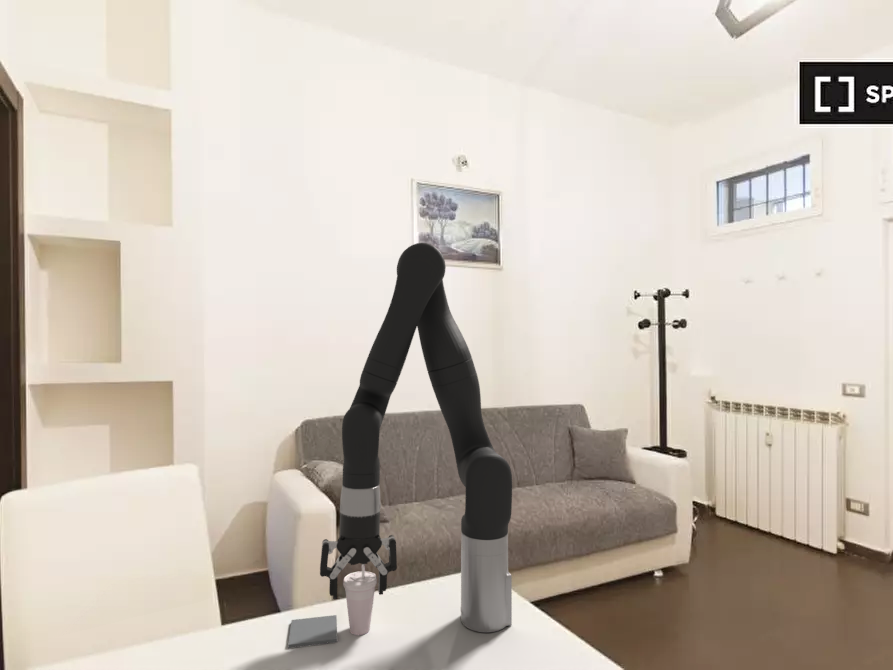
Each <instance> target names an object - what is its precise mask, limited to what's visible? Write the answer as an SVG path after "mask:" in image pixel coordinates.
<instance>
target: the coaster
mask: <svg viewBox="0 0 893 670" xmlns="http://www.w3.org/2000/svg"><path fill="white" fill-rule="evenodd" d="M337 622H338V619H337V614H333V615H324V616H315V617H308V618H307V617H306V618H297V619H291V621H290V630H289V637H288V644H287V645H288V646H287V647H288V649H291V648H290V647H294V648H301V647H300V646H302V647H309V645H310V646H317V645H326V644H332V643H334V644H335V643H338V626H337V625H338V623H337Z"/></svg>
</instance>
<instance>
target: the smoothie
mask: <svg viewBox="0 0 893 670" xmlns="http://www.w3.org/2000/svg"><path fill="white" fill-rule="evenodd" d="M365 566H366V564H361V570H360V571H359V570H358V571H355V572H350V573H348V574H347V575H346V576H344V578H343V584H342V586H343V588H344V589H345V591H344V592H345V599H346V606H347V607H346V608H347V609H346V610H347V616H348V617H347V618H348V625H349V632H350V633H351V634H352V635H354V636H363V635H366V634H368V633H369V632H370V629H371V622H372V616H373V615H372V614H373V607H374V600H375V599H374V598H375V590H376V585H377V584H378V576H377V575H376V573H374V572H371V571H366V569H365Z"/></svg>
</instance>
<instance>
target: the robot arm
mask: <svg viewBox="0 0 893 670" xmlns="http://www.w3.org/2000/svg"><path fill="white" fill-rule="evenodd" d="M445 275H446V261H445V258H444V255H443V254H442V252H441V251H440V249H439V248H437V246H435V245H434V244H431V243H428V242H418V243H414V244H412V245H409V246H408V247H407V248H406V249H404V251H403V252H402V253H401V254H400V256H399V259H398V261H397V265H396V276H397V277H396V280H395V281H396V282H395V285H394V290H393V295H392V297H391V300H390V303H389V306H388V309H387V312H386V314H385V316H384V320H383V321H382V324H381V326H380V328H379V330H378V333H377V335H376V336H375V339H374V342H373V343H372V345H371V348H370V350H369V353H368V356H367V358H366V360H365V363H364V366H363V367H362V371H361V374H360V378H359V385H358V387H357V391H356V393H355V395H354V397H353V400H352V403H351V404H350V407H349V409H348V410H346V412H345V414H344V415H343V418H342V424H341V440H342V454H343V464H342V481H341V482H342V483H341V484H342V486H341V491H340V503H339V537H338V538H337V541H335V540H334V541H332V540H330V541H329V539H327V538H326V539H323V540H322V543H321V555H320V564H319V576H321V577H323V578H324V577H326V578H328V579H329V590H328V591H329V596H331V597H332V599H333V600H336V599H338V582H339V581H338V579H339V578H338V576H339V574H340V573H341V571H343V570H344V569H345V567H346V566H347V564H349V565H350V566H354V565H359V564H361V565H362V564H365V565H368V563H370V562H371V563H372V564H373V566H374V567H375V568H376V569H377V570H378V579H377V584H378V585H377V586H378V588H377V590H378V591H377V592H378V594H379V595H378V596H380V595H383V594H384V592H386V591H387V588H388V584H387V583H388V574H389V573H390V572H395V571H396V570H397V569H398V566H397V565H398V563H397V562H398V561H397V540H396V539H395V538H396V537H395V535H393V534H391V535H389V536H388V537H384V538H383V537H382V538H381V536H380V533H381V531H380V527H381V519H380V518H381V507H382V502H381V487H380V483H381V478H380V477H381V475H380V474H381V462H380V458H379V451H380V450H379V448H380V447H379V446H380V445H379V444H380V432H381V426H382V424H383V420H384V417H385V415H386V412H387V408H388V405H389V402H390V399H391V396H392V394H393V392H394V390H395V388H396V386H397V384H398V382H399V378H400V376H401V373H402V370H403V368H404V366H405V363H406V360H407V357H408V354H409V351H410V348H411V344H412V341H413V339H414V336H415V333H416V330H417V332H418V337H419V342H420V347H421V351H422V355H423V359H424V363H425V367H426V371H427V373H428V377H429V381H430V384H431V386H432V389H433V392H434V395H435V398H436V400H437V401H436V402H437V403H438V406H439V409H440V411H441V414H442V415H443V416H442V417H443V418H444V421H445V423H446V426H447V428H448V431H449V435H450V439H451V443H452V448H453V453H454V456H455V457H454V458H455V463H456V468H457V469H456V470H457V473H458V477H459V479H460V482H461V483H462V485H463V487H464V488H465V505H464V514H463V515H462V517H461V522H460V540H461V541H460V546H461V548H460V549H461V550H460V560H461V561H460V621H461V623H462V624H463V626H464V627H465V628H468V629H469V630H471V631H474V632H478V633H493V632H498V631H501V630H503V629H505V628H506V627H507V626H512V623H513V622H512V621H513V619H512V616H513V615H512V613H513V612H512V609H513V608H512V607H513V606H512V605H513V603H512V602H513V601H512V600H513V598H512V596H513V595H512V593H513V592H512V589H513V587H512V586H513V585H512V584H513V580H512V579H513V577H512V574H511V572H509V571H510V570H509V524H510V521H511V517H512V511H513V510H512V507H513V474H512V469H511V466H510V464H509V462H508V461H507V460H506V459H505V458H504V457H503V456H501V455H500V454H499V453H497V452H496V450H495V449H494V447H493V444H492V442H491V439H490V437H489V435H488V432H487V429H486V426H485V423H484V420H483V419H484V418H483V414H482V403H481V402H482V399H481V397H482V396H481V387H480V382H479V378H478V373H477V370H476V366H475V364H474V360H473V357H472V354H471V352H470V348H469V346H468V344H467V342H466V340H465V337H464V336H463V334H462V331H461V330H460V328H459V326H458V324H457V323H456V321H455V319H454V317H453V314H452V312H451V310H450V307H449V303H448V299H447V295H446V290H445V286H444V278H445ZM382 546H384V548H385V550H386V551H388V562H387V563H384V561H383V559H382V558H381V557H380V555H379V554H378V552H379V551H380V549H381V547H382ZM335 549H336V550H337V552H339V555H338V557H337V558H336V561H335V562H334V563H333V564H332V566H331V567H329V566H328V561H329V555H331V554H333V551H334V550H335Z"/></svg>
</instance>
